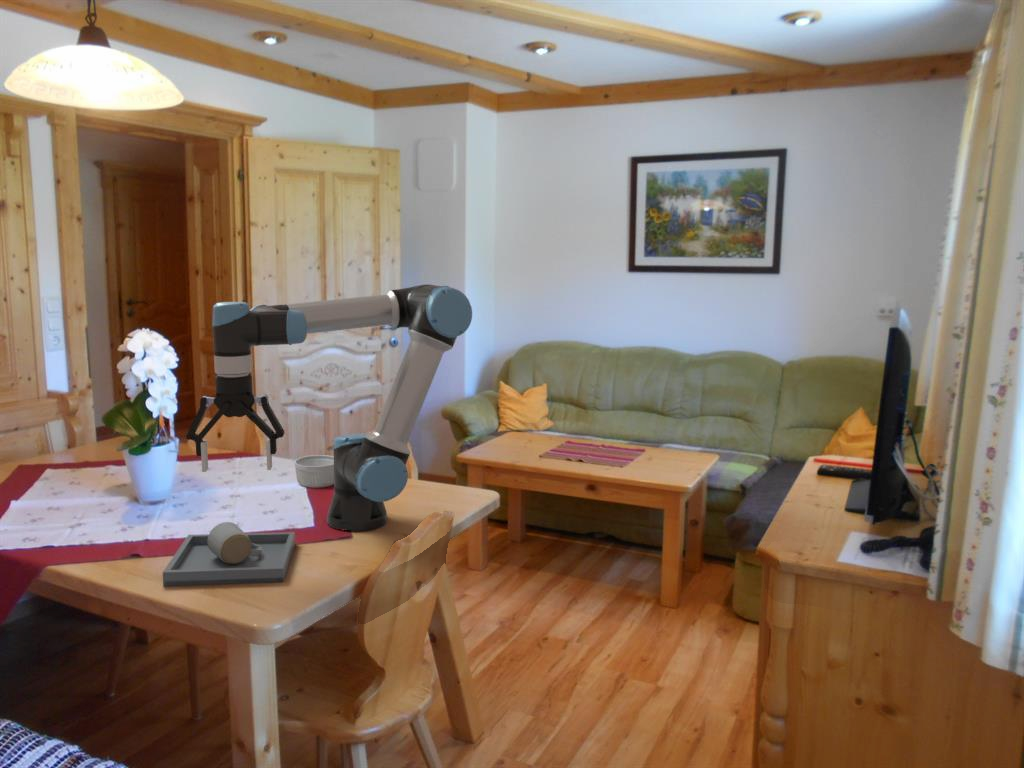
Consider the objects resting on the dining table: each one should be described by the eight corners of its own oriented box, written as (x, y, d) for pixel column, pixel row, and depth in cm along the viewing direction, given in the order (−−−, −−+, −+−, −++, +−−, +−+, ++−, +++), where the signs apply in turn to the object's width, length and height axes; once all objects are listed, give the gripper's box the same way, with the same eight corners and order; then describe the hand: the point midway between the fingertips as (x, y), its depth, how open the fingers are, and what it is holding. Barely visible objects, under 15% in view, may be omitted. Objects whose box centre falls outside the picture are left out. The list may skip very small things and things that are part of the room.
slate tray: (295, 544, 189) (294, 532, 189) (283, 582, 168) (283, 568, 167) (188, 547, 185) (188, 534, 185) (163, 586, 164) (162, 572, 164)
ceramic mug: (221, 569, 170) (221, 535, 169) (207, 558, 177) (206, 524, 175) (268, 559, 177) (268, 526, 176) (253, 548, 184) (253, 516, 182)
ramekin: (316, 492, 230) (316, 468, 229) (284, 483, 237) (284, 461, 236) (349, 481, 241) (348, 459, 240) (318, 474, 248) (318, 452, 247)
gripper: (294, 370, 178) (297, 462, 181) (176, 372, 173) (181, 466, 177) (291, 376, 170) (294, 472, 174) (167, 377, 166) (173, 475, 170)
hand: (237, 469), depth 175 cm, fingers open, 13 cm apart
